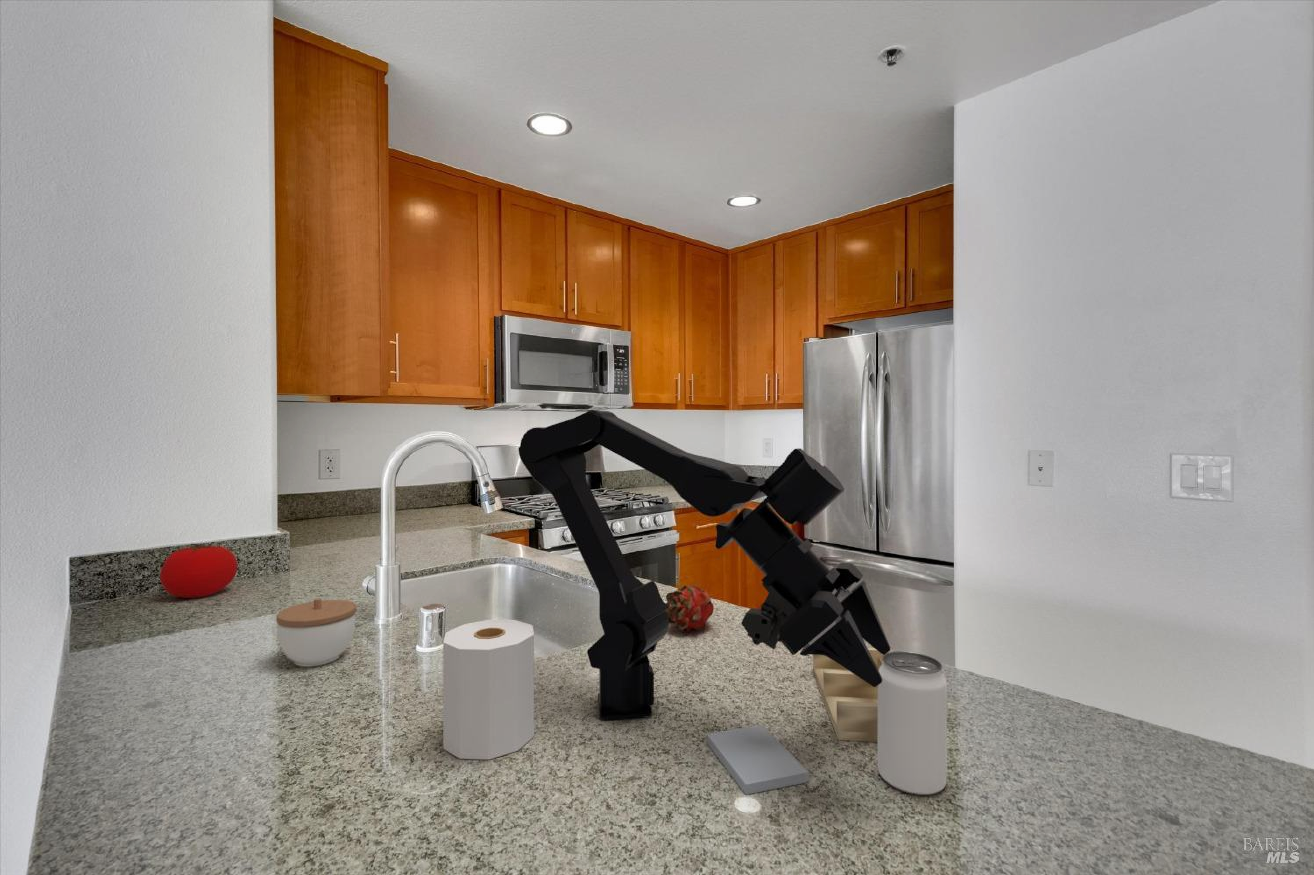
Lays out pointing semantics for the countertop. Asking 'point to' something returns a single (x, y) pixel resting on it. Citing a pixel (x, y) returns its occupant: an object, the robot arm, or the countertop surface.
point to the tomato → (198, 571)
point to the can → (912, 723)
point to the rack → (848, 698)
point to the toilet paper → (488, 688)
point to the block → (756, 759)
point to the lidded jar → (316, 631)
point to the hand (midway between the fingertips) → (883, 667)
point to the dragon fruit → (689, 608)
